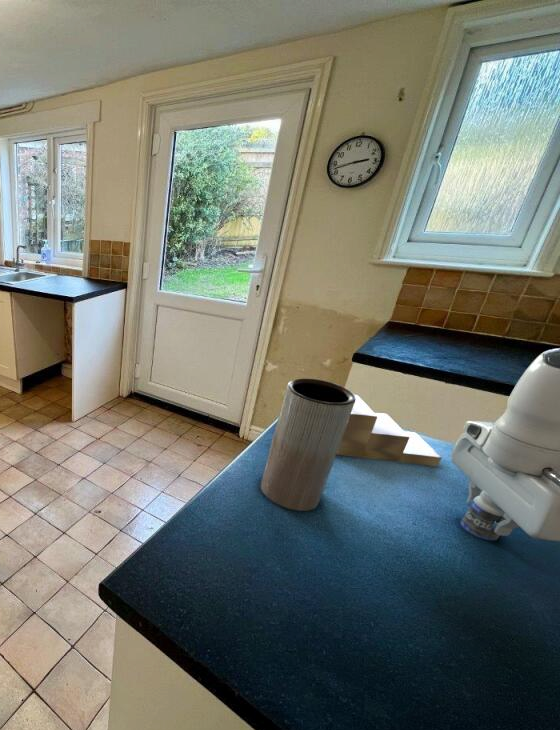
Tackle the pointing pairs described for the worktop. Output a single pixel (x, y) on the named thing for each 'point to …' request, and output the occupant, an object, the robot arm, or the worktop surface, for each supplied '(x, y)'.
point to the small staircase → (383, 439)
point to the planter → (306, 442)
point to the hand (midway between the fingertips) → (485, 518)
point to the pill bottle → (482, 517)
